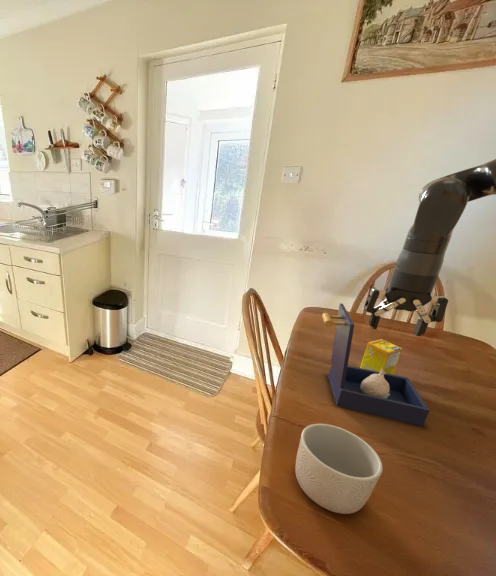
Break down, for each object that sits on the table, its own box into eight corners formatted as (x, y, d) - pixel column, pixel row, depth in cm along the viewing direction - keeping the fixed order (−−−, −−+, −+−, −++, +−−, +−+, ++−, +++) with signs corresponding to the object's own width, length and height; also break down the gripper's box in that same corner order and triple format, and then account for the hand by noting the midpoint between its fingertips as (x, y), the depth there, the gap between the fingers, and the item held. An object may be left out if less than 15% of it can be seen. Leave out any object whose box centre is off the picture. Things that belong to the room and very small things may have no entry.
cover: (342, 303, 86) (320, 302, 89) (354, 324, 75) (328, 322, 77) (334, 361, 92) (313, 358, 94) (343, 389, 81) (320, 385, 83)
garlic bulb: (393, 404, 82) (403, 379, 79) (372, 407, 81) (381, 382, 78) (369, 388, 88) (378, 364, 86) (350, 390, 87) (358, 367, 85)
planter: (287, 454, 69) (297, 416, 65) (354, 474, 65) (369, 434, 61) (294, 507, 59) (306, 465, 55) (374, 534, 54) (395, 490, 50)
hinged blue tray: (401, 393, 88) (408, 377, 86) (422, 427, 76) (429, 410, 74) (327, 377, 95) (332, 362, 93) (336, 406, 83) (341, 390, 81)
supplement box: (370, 368, 98) (381, 338, 94) (391, 380, 93) (403, 348, 89) (357, 372, 96) (367, 341, 93) (377, 384, 91) (389, 352, 87)
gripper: (382, 270, 72) (363, 332, 77) (467, 278, 66) (439, 344, 72) (373, 261, 78) (356, 319, 84) (449, 268, 72) (425, 330, 78)
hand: (394, 331), depth 78 cm, fingers open, 8 cm apart
